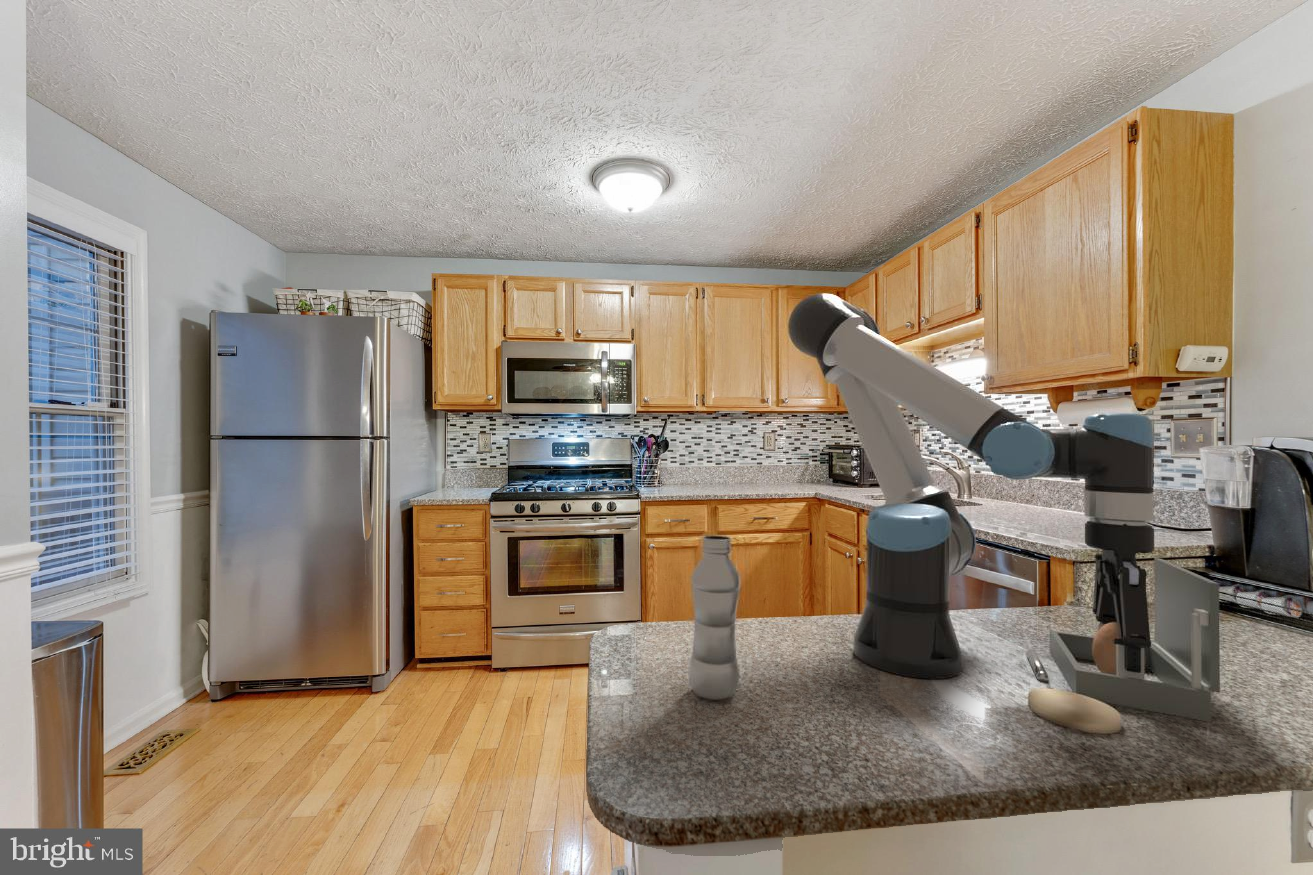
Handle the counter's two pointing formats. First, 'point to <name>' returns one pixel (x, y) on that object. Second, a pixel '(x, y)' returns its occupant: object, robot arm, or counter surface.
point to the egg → (1106, 648)
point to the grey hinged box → (1160, 651)
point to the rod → (1037, 665)
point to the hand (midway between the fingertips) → (1119, 680)
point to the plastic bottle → (714, 621)
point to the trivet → (1074, 711)
